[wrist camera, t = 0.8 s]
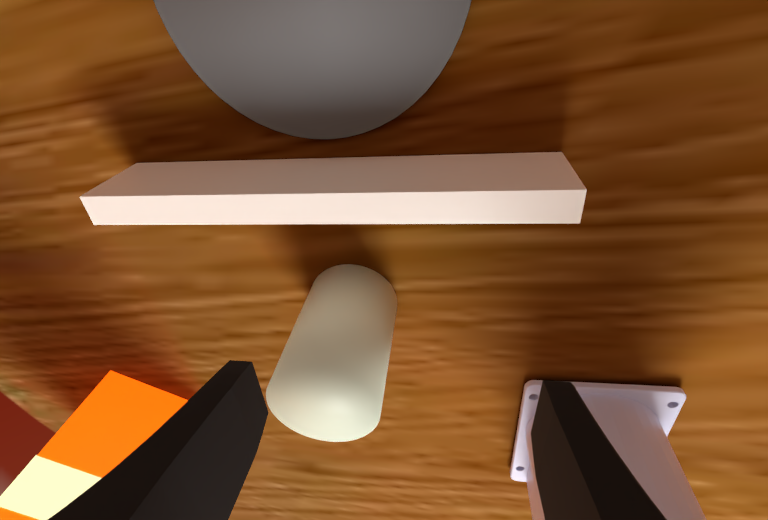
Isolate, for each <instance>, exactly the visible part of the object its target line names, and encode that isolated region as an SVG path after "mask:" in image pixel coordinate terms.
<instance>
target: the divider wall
mask: <svg viewBox="0 0 768 520" xmlns="http://www.w3.org/2000/svg"><path fill="white" fill-rule="evenodd" d="M586 192H587V189H586V188H585V186H584V185H583V183H582V181H581V180H580V178H579V177H578V175H577V174H576V172H575V171H574V169H573V168H572V166H571V165H570V163H569V162H568V160H567V159H566V157H565V156H564V154H563V153H562V152H535V153H497V154H459V155H421V156H383V157H345V158H307V159H269V160H231V161H192V162H154V163H136V164H134V165H132V166H131V167H129V168H127V169H125V170H124V171H122V172H120V173H119V174H117V175H115V176H114V177H112V178H110V179H109V180H107V181H105V182H103V183H102V184H100V185H98V186H97V187H95V188H93V189H92V190H90V191H88V192H87V193H85V194H83V195H82V196H80V199H81V201H82V203H83V205H84V207H85V209H86V211H87V212H88V214H89V216H90V218H91V220H92V222H93V224H94V225H209V224H570V223H580V221H581V216H582V211H583V206H584V202H585V197H586Z"/></svg>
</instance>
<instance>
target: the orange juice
mask: <svg viewBox="0 0 768 520" xmlns="http://www.w3.org/2000/svg"><path fill="white" fill-rule="evenodd" d="M187 401H188V400H186V399H184V398H181V397H179V396H176V395H173V394H171V393H168V392H166V391H163V390H160V389H158V388H155V387H153V386H150V385H147V384H145V383H142V382H140V381H137V380H135V379H132V378H129V377H127V376H124V375H122V374H119V373H116V372H114V371H111V370H110V371H109V372H108V374H107V375H106V376H105V377H104V378H103V379H102V381H101V382H100V383H99V384H98V385H97V386H96V387H95V389H94V390H93V391H92V392H91V393H90V394H89V396H88V397H87V398H86V399H85V400H84V401H83V403H82V404H81V405H80V406H79V407H78V408H77V410H76V411H75V412H74V413H73V414H72V415H71V417H70V418H69V419H68V420H67V421H66V422H65V423H64V425H63V426H62V427H61V428H60V429H59V430H58V432H57V433H56V434H55V435H54V436H53V438H52V439H51V440H50V441H49V442H48V443H47V444H46V446H45V447H44V448H43V449H42V450H41V451H40V453H39V454H38V455H36V456H35V457H34V458H33V459H32V460H31V462H30V463H29V464H28V465H27V466H26V467H25V469H24V470H23V471H22V472H21V473H20V474H19V476H18V477H17V478H16V479H15V480H14V481H13V482H12V484H11V485H10V486H9V487H8V488H7V489H6V491H5V492H4V493H3V494H2V495H1V496H0V520H48V519H49V518H51V517H52V516H53V515H55V514H56V513H57V512H59V511H60V510H62V509H63V508H64V507H66V506H67V505H68V504H69V503H71V502H72V501H73V500H75V499H76V498H77V497H78V496H80V495H81V494H82V493H84V492H85V491H86V490H88V489H89V488H90V487H91V486H93V485H94V484H95V483H96V482H98V481H99V480H100V479H101V478H102V477H104V476H105V475H106V474H107V473H109V472H110V471H111V470H112V469H113V468H115V467H116V466H117V465H118V464H119V463H120V462H122V461H123V460H124V459H125V458H126V457H127V456H128V455H129V454H131V453H132V452H133V451H134V450H135V449H136V448H137V447H139V446H140V445H141V444H142V443H143V442H144V441H145V440H147V439H148V438H149V437H150V436H151V435H152V434H153V433H154V432H155V431H157V430H158V429H159V428H160V427H161V426H162V425H163V424H164V423H165V422H166V421H167V420H168V419H169V418H170V417H171V416H173V415H174V414H175V413H176V412H177V411H178V410H179V409H180V408H181V407H182V406H183V405H184V404H185V403H186V402H187Z"/></svg>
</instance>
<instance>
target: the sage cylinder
mask: <svg viewBox="0 0 768 520" xmlns="http://www.w3.org/2000/svg"><path fill="white" fill-rule="evenodd" d="M396 311H397V296H396V293H395V291H394V289H393V287H392V286H391V284H390V283H389V282H388V281H387V280H386V279H385V278H384V277H383V276H382V275H380V274H379V273H377V272H376V271H374V270H372V269H369V268H367V267H364V266H360V265H353V264H343V265H337V266H333V267H331V268H328V269H326V270H325V271H323V272H322V273H321V274H319V275H318V277H317V278H316V279H315V281H314V283H313V285H312V287H311V289H310V292H309V294H308V296H307V298H306V301H305V303H304V305H303V308H302V310H301V312H300V314H299V317H298V319H297V321H296V323H295V326H294V328H293V330H292V332H291V335H290V337H289V339H288V341H287V344H286V346H285V348H284V350H283V353H282V355H281V357H280V360H279V362H278V364H277V366H276V369H275V371H274V373H273V375H272V378H271V380H270V382H269V384H268V387H267V390H266V400H267V404H268V406H269V408H270V410H271V411H272V413H273V414H274V415H275V416H276V418H277V419H278V420H279V421H281V422H282V423H283V424H284V425H286V426H287V427H289V428H290V429H292V430H294V431H295V432H297V433H300V434H302V435H304V436H307V437H310V438H314V439H317V440H323V441H331V442H344V441H351V440H355V439H359V438H361V437H364V436H366V435H367V434H369V433H370V432H372V431H373V430H374V429H375V427H376V426H377V425H378V422H379V420H380V415H381V408H382V402H383V395H384V389H385V383H386V376H387V370H388V363H389V357H390V350H391V344H392V337H393V331H394V324H395V318H396Z"/></svg>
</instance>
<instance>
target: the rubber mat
mask: <svg viewBox="0 0 768 520" xmlns="http://www.w3.org/2000/svg"><path fill="white" fill-rule="evenodd" d="M154 3H155V6H156V8H157V10H158V13H159V15H160V17H161V19H162V21H163V23H164V25H165V27H166V29H167V31H168V33H169V35H170V36H171V38H172V40H173V41H174V43H175V45H176V46H177V48H178V50H179V51H180V53H181V54H182V55H183V57H184V58H185V60H186V61H187V62H188V64H189V65H190V66H191V68H192V69H193V70H194V71H195V73H196V74H197V75H198V76H199V77H200V78H201V79H202V80H203V82H204V83H205V84H206V85H207V86H208V87H209V88H210V89H211V90H212V91H213V92H215V93H216V94H217V95H218V96H219V97H220V98H221V99H222V100H223V101H224V102H226V103H227V104H229V105H230V106H231V107H233V108H234V109H235V110H237V111H238V112H239V113H241V114H243V115H244V116H246V117H248V118H250V119H251V120H253V121H255V122H257V123H259V124H261V125H263V126H265V127H268V128H270V129H272V130H275V131H278V132H281V133H285V134H288V135H291V136H297V137H303V138H309V139H336V138H345V137H350V136H354V135H358V134H362V133H365V132H367V131H370V130H373V129H375V128H378V127H380V126H382V125H384V124H385V123H387V122H389V121H391V120H392V119H394V118H396V117H397V116H399V115H400V114H401V113H403V112H404V111H405V110H407V109H408V108H409V107H411V106H412V105H413V104H414V103H415V102H416V101H417V100H418V99H419V98H420V97H421V96H422V95H423V94H424V93H425V92H426V91H427V90H428V89H429V87H430V86H431V85H432V83H433V82H434V81H435V80H436V78H437V77H438V76H439V75H440V73H441V71H442V70H443V68H444V66H445V65H446V63H447V61H448V60H449V58H450V57H451V55H452V53H453V50H454V48H455V46H456V44H457V42H458V39H459V37H460V35H461V33H462V30H463V27H464V24H465V21H466V17H467V14H468V11H469V8H470V3H471V0H154Z"/></svg>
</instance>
